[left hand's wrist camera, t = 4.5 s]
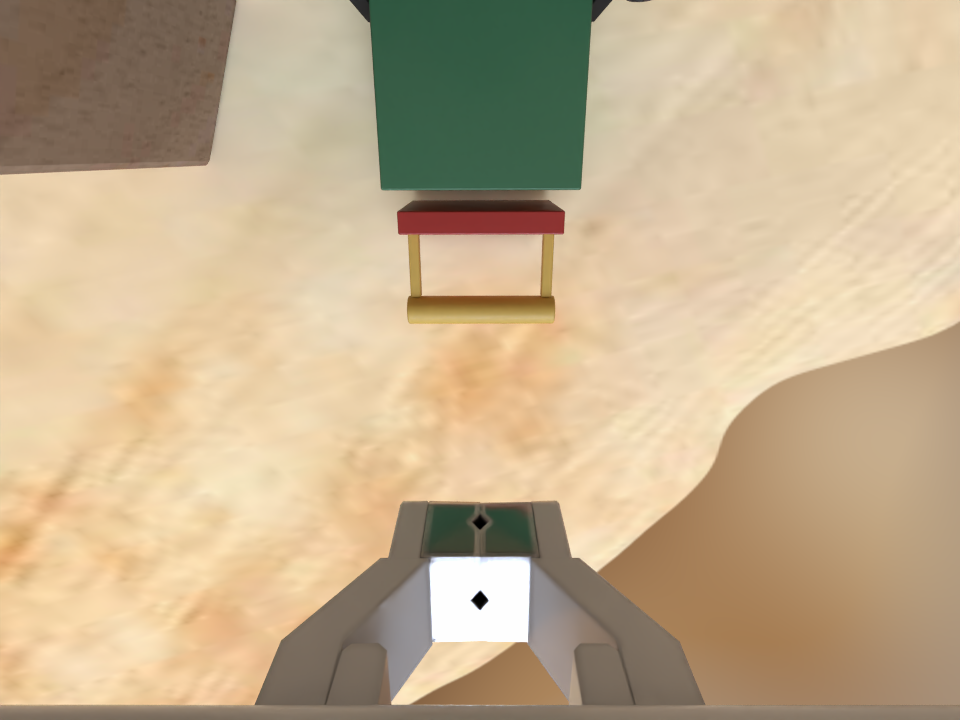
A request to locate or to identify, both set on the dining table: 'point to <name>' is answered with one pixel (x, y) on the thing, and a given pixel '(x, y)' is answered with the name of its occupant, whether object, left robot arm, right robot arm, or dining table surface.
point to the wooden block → (110, 83)
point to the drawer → (480, 221)
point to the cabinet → (480, 93)
